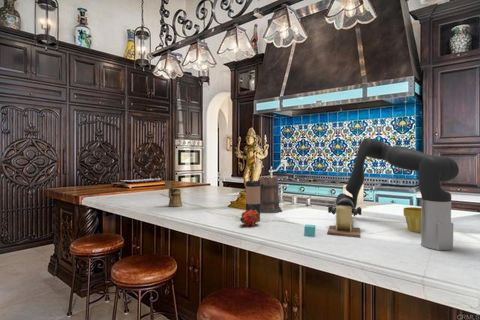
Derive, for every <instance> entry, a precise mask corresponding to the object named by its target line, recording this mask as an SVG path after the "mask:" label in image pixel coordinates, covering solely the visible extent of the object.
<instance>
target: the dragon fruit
mask: <svg viewBox="0 0 480 320" xmlns="http://www.w3.org/2000/svg"><path fill="white" fill-rule="evenodd" d="M259 218H260V220H261V215H260V216H259V213H258V212H257V210H254V211H253V210H252V209H250V211H248V210H246V209H245V211H244V212H242V213H241V218H240V219H239V220H240V222H241V223H242V224H243V225H242V226H243V227H249V226H251V227H254V226H255V225H256V223H259V222H260V220H259Z"/></svg>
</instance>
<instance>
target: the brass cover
mask: <svg viewBox="0 0 480 320" xmlns="http://www.w3.org/2000/svg"><path fill="white" fill-rule="evenodd" d="M336 206H337V205H336ZM352 222H353V215H352V207H351V206H337V207H336V213H335V226H336V231H337V230H338V228H342V229H350V232H351V231H352V227H353V223H352Z"/></svg>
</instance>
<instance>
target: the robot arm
mask: <svg viewBox="0 0 480 320" xmlns="http://www.w3.org/2000/svg"><path fill="white" fill-rule="evenodd" d="M367 158H371V159H376V160H381V161H386V162H387V163H388V164H389V165H391V166H392V167H395V168H398V169H402V170H405V171H406V170H407V171H414V172H418V184H419V185H418V186H419V187H418V188H419V192H420V194H421V206H420V208H421V232H420V245H421V246H422V247H425V248H428V249H433V250H436V251H450V250H454V223H453V222H452V194H451V193H450V192H448V191H447V190H444V189H442V187H441V182H443V183H444V182H449V181H452V180H454V179H455V178H457V177H458V175H459V171H460V168H459V165H458V164H457V162H456V161H455V160H454V159H453V158H451V157H448V156H440V155H432V154H429V153H426V152H421V151H419V150H415V149H412V148H409V147H405V146H400V145H393V146H392V145H390V144H387V143H385V142H384V141H381V140H377V139H373V138H369V137H366V138H364V139H363V140H362V141H361V142H360V144H359V147H358V150H357V154H356V158H355V161H354V165H353V169H352V172H351V174H350V176H349V179H348V181H347V183H346V186H345V191H347V192H348V193H349V194H351V195H348V194H346V193H339V194H338V195H337V197H336V199H335V202H336V205H335V206H334V205H332V204H330V205H329V206H328V207H327V213H328V214H330V213H331V214H332V215H335V216H336V207H337V206H351V207H352V216H353V217H355V216H358V215H359V216H362V208H361V207H360V206H358V207H357V205H358V196H359V195H360V190H361V189H362V186H363V184H364V182H365V169H364V168H365V167H364V164H365V160H366V159H367Z"/></svg>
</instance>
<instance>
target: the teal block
mask: <svg viewBox="0 0 480 320" xmlns="http://www.w3.org/2000/svg"><path fill="white" fill-rule="evenodd" d="M303 236H304V237H312V238H314V237H315V236H316V225H315V224H304V234H303Z"/></svg>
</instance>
